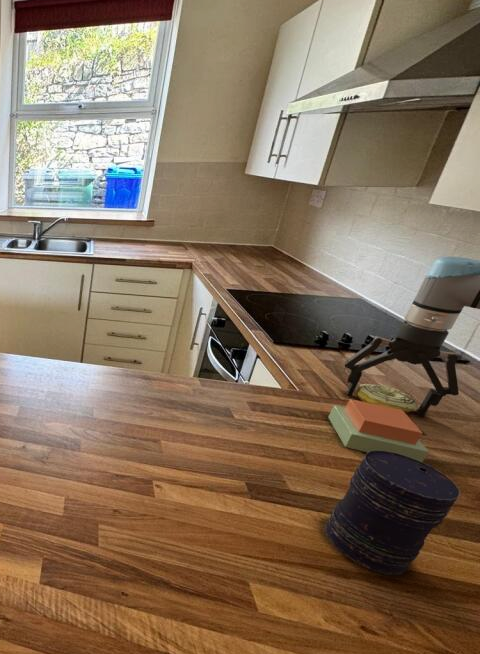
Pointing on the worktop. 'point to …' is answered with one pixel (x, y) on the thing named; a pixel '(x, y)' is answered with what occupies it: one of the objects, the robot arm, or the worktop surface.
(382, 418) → the stack top
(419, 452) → the stack base
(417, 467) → the dark blue cylinder
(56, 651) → the worktop surface
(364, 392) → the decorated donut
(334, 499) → the worktop surface
